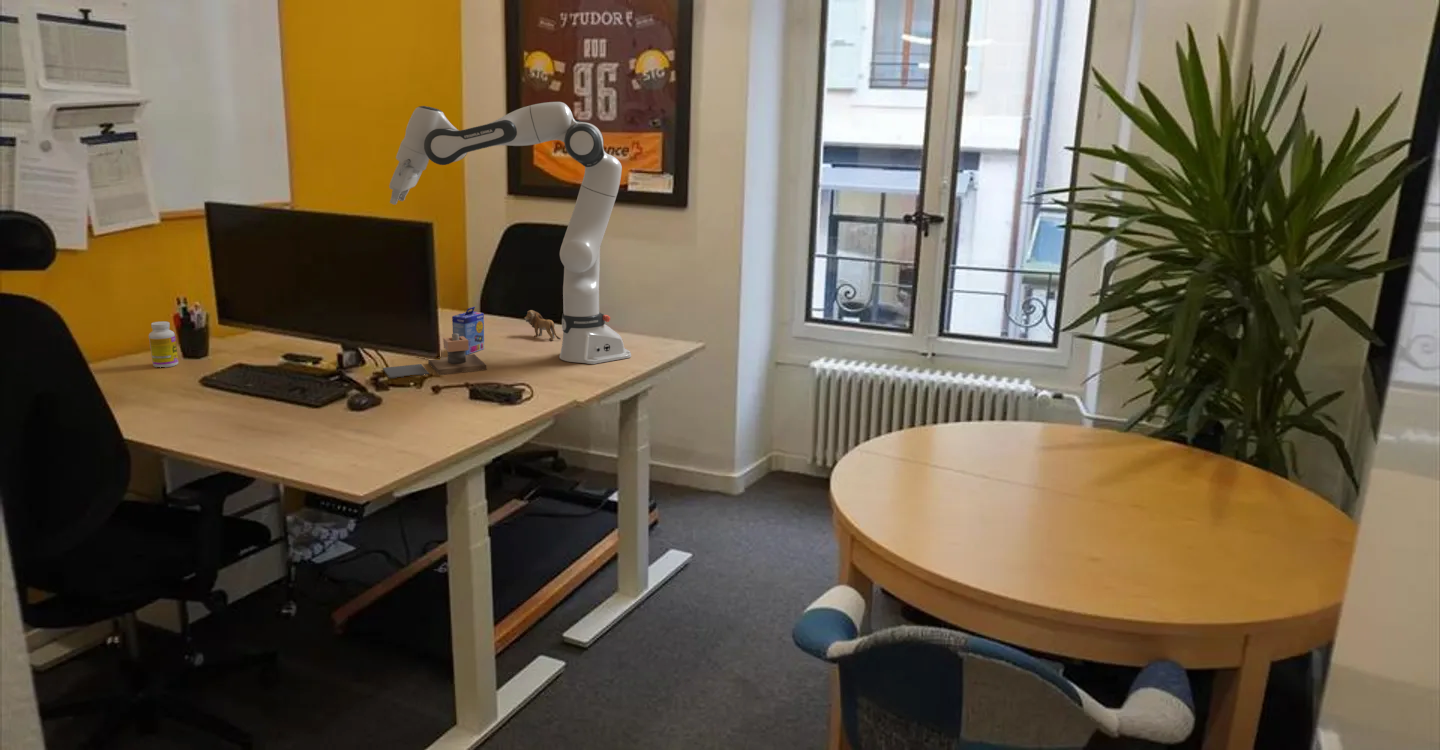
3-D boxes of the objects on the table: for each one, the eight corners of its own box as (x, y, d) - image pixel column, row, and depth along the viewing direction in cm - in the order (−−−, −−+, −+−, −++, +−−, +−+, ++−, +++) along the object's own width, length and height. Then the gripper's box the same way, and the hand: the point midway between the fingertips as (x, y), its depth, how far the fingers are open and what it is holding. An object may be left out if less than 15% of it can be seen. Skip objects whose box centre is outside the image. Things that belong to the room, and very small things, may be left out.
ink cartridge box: (466, 355, 301) (464, 310, 297) (452, 353, 303) (450, 308, 299) (486, 349, 310) (484, 305, 306) (472, 347, 312) (469, 303, 308)
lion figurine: (522, 336, 328) (521, 310, 325) (533, 333, 332) (532, 308, 330) (555, 342, 320) (555, 316, 318) (566, 339, 325) (565, 313, 322)
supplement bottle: (178, 367, 282) (172, 324, 278) (152, 369, 279) (146, 326, 275) (179, 361, 287) (173, 319, 284) (153, 363, 285) (147, 321, 281)
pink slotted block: (463, 345, 291) (463, 336, 290) (468, 350, 286) (468, 340, 285) (443, 347, 288) (443, 337, 287) (448, 352, 283) (447, 342, 282)
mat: (421, 365, 289) (421, 363, 288) (429, 374, 279) (428, 372, 279) (383, 369, 283) (383, 367, 283) (389, 378, 274) (389, 377, 274)
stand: (474, 358, 297) (472, 327, 295) (486, 369, 286) (484, 337, 283) (428, 363, 291) (426, 331, 288) (438, 374, 279) (436, 341, 276)
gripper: (415, 165, 273) (398, 210, 276) (429, 160, 292) (414, 202, 295) (393, 156, 272) (377, 201, 275) (409, 152, 291) (394, 194, 294)
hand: (396, 202), depth 285 cm, fingers open, 8 cm apart
